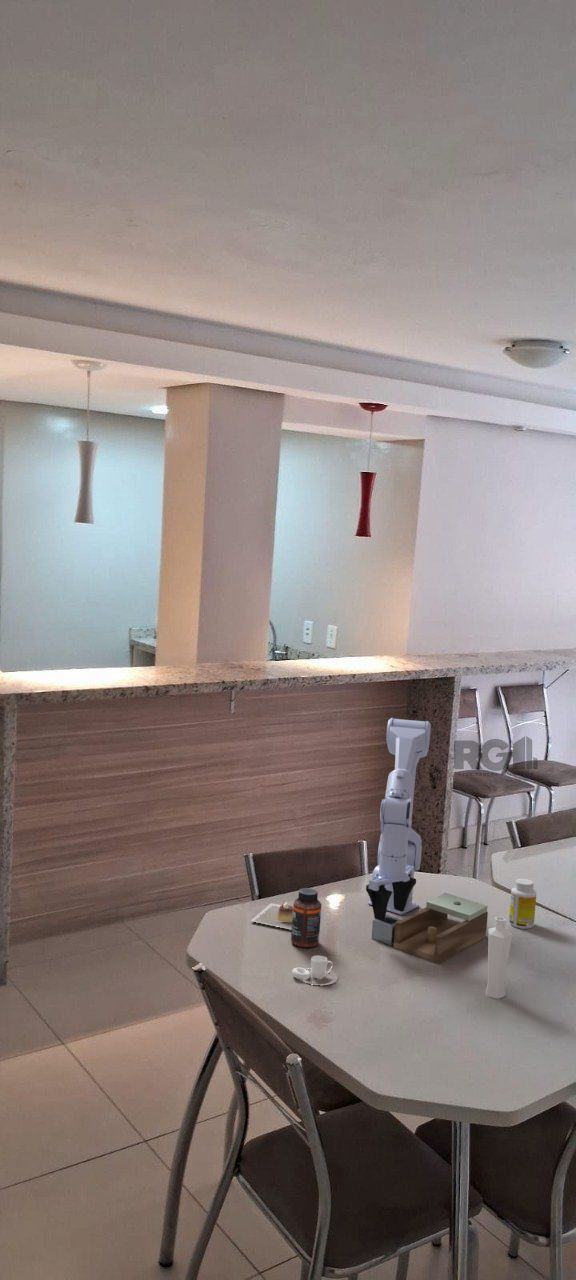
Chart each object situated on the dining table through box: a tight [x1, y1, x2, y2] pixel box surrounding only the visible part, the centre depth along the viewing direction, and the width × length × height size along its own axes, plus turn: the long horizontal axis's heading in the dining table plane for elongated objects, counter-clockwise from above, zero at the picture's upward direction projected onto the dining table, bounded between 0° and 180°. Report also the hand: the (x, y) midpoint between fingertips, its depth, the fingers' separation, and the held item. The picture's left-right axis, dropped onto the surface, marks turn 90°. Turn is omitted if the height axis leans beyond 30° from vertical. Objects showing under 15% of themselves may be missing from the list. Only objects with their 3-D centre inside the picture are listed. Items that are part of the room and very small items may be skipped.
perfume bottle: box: [484, 916, 513, 1000], centre depth 191 cm, size 5×4×15 cm
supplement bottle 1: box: [290, 887, 322, 949], centre depth 210 cm, size 6×6×11 cm
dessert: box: [250, 901, 293, 931], centre depth 223 cm, size 12×12×5 cm
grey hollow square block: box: [371, 914, 402, 946], centre depth 215 cm, size 5×5×4 cm
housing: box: [393, 907, 489, 965], centre depth 215 cm, size 11×20×6 cm, turn 141°
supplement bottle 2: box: [508, 878, 537, 930], centre depth 226 cm, size 6×6×10 cm
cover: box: [425, 892, 489, 921], centre depth 219 cm, size 11×8×2 cm
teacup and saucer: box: [291, 955, 334, 986], centre depth 195 cm, size 9×8×4 cm
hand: (389, 914), depth 215 cm, fingers open, 7 cm apart
